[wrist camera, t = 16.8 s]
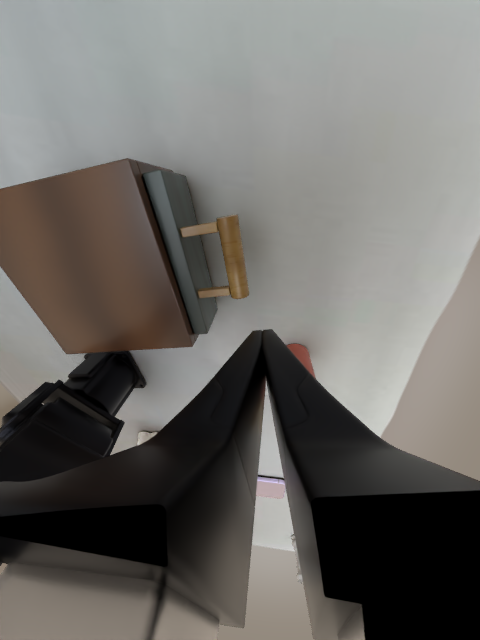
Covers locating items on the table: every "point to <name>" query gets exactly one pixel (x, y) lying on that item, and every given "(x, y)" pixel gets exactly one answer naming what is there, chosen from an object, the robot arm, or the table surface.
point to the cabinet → (93, 260)
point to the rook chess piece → (299, 574)
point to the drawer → (194, 247)
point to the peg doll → (302, 356)
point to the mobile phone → (270, 487)
